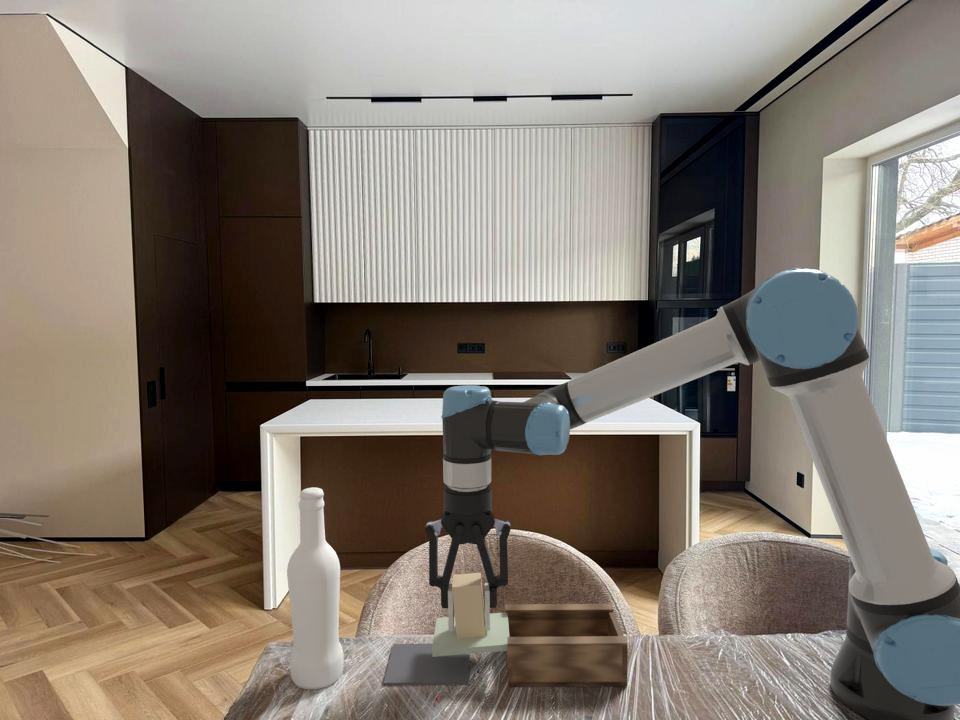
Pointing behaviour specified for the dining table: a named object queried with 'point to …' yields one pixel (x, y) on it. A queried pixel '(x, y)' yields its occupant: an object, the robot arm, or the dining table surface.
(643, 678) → the dining table surface
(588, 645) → the walnut box
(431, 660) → the mat
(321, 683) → the bottle
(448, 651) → the lid
